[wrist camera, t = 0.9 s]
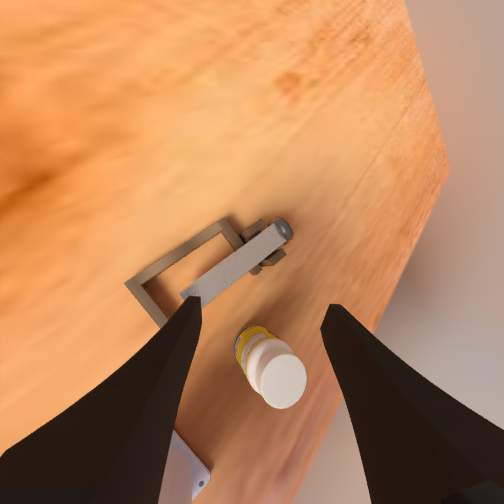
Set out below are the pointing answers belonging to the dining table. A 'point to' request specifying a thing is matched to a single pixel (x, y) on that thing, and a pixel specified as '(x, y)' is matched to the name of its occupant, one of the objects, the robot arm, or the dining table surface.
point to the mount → (223, 226)
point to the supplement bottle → (270, 366)
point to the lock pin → (239, 262)
